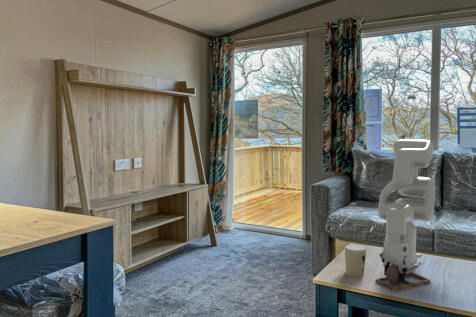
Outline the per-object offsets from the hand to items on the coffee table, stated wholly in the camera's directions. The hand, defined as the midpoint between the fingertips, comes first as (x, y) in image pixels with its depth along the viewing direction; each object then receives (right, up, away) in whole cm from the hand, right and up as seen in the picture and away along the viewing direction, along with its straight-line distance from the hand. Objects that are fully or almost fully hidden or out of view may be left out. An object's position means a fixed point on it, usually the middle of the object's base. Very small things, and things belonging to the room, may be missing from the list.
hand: (394, 277), depth 162 cm
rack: (+4, -3, +3) cm, 5 cm away
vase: (0, -2, 0) cm, 3 cm away
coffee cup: (-13, -2, +13) cm, 18 cm away
